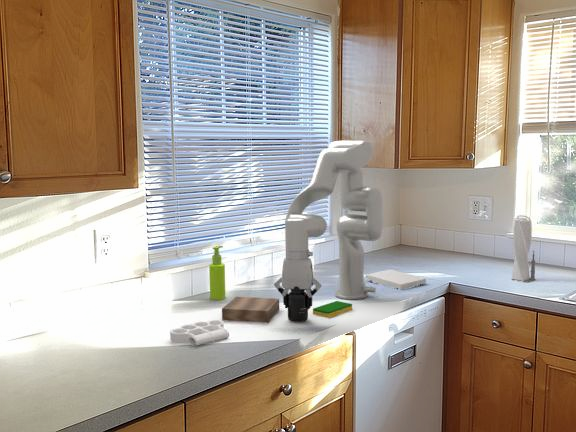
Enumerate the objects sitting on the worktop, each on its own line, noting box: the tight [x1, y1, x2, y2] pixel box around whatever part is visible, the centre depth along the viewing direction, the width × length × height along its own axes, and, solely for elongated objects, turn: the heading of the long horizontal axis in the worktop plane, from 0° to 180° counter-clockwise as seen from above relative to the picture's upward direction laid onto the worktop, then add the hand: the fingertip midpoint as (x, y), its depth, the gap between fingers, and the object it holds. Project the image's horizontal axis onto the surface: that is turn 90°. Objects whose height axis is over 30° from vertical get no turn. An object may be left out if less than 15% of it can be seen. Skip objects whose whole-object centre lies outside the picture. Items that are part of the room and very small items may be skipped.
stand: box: [221, 296, 280, 324], centre depth 208 cm, size 16×16×4 cm
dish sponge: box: [312, 300, 353, 319], centre depth 211 cm, size 7×14×2 cm, turn 137°
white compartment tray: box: [169, 319, 230, 347], centre depth 185 cm, size 3×18×15 cm
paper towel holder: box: [511, 214, 537, 283], centre depth 254 cm, size 8×8×28 cm
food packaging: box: [365, 268, 427, 291], centre depth 253 cm, size 15×3×20 cm
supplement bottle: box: [287, 286, 309, 323], centre depth 200 cm, size 7×7×12 cm
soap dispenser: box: [208, 245, 226, 301], centre depth 230 cm, size 6×7×20 cm
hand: (297, 307), depth 200 cm, fingers closed on supplement bottle, 6 cm apart
